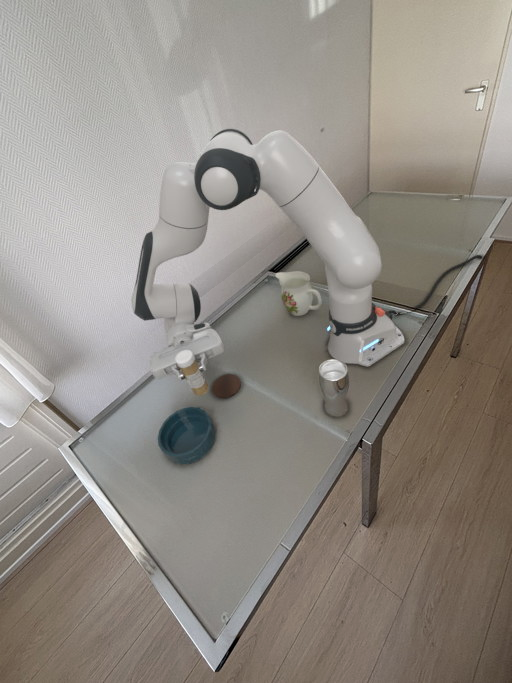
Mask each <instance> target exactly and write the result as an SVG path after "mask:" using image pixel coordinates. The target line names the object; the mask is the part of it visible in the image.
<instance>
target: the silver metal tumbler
mask: <svg viewBox="0 0 512 683" xmlns="http://www.w3.org/2000/svg"><path fill="white" fill-rule="evenodd" d="M348 370H349V369H348V366H347V363H343V362H342V361H340V360H336V359H335V358H333V359H328V360H325V361H323V362H322V363H321V364H320V365H319V367H318V383H319V388H320V391H321V393H322V395H323V398H324V404H323V405H324V410H325V412H326V414H327V415H329V416H331V417H335V418H336V417H337V418H338V417H342V416H344V415H346V414H347V413H348V410H349V403H348V400H347V396H348V392H349V387H350V376H349V371H348Z"/></svg>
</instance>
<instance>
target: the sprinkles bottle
mask: <svg viewBox="0 0 512 683" xmlns="http://www.w3.org/2000/svg"><path fill="white" fill-rule="evenodd" d="M175 361H176V363H177V365H178V366H179V367H180V369H181V370H180V371H182V372H183V374H184V376H185V380H186V382H187V385H188V386H189V387H190V388H191V390H192V393H193V395H195V396H197V397H199V396H200V397H201V396H204V395H205V394H206V393H208V391H209V390H210V385H209V384H208V382H207V381H206V378H205V375H204V374H203V371H202V372H201V371H200V369H199V366H198V363H197V362H196V360H195V357H194V355H193V353H192V352H191V351H190V350H183V351H181V352H179V353H178V354H177V355H176V357H175Z"/></svg>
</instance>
